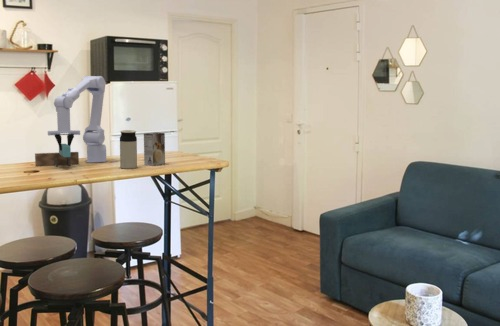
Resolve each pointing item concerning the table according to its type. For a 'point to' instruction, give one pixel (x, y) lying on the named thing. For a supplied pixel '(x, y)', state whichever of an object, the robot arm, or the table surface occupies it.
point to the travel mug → (128, 149)
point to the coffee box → (154, 149)
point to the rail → (65, 150)
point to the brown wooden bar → (55, 159)
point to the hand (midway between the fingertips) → (64, 150)
